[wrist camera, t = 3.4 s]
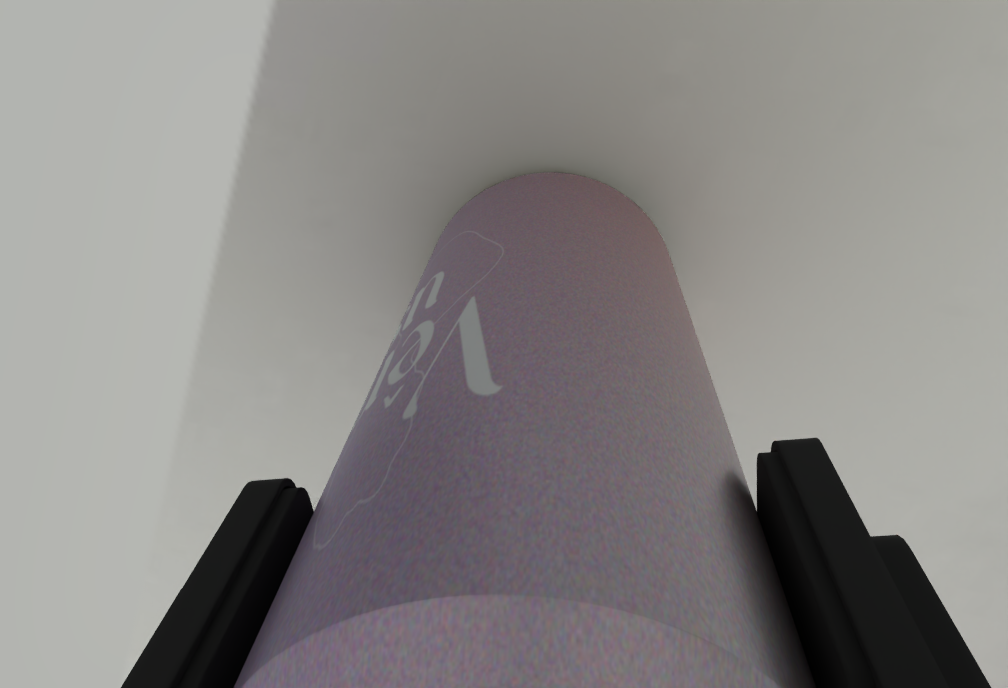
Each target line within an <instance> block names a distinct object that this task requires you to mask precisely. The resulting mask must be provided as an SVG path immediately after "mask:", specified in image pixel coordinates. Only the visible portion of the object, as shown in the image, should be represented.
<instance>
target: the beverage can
mask: <svg viewBox="0 0 1008 688" xmlns="http://www.w3.org/2000/svg"><path fill="white" fill-rule="evenodd" d="M234 688H816V685H815V682H814V679H813V676H812V673H811V670H810V667H809V664H808V661H807V659H806V656H805V653H804V650H803V647H802V644H801V641H800V638H799V635H798V632H797V629H796V626H795V623H794V620H793V617H792V614H791V611H790V609H789V606H788V603H787V600H786V597H785V594H784V591H783V588H782V585H781V582H780V579H779V576H778V573H777V570H776V567H775V564H774V561H773V558H772V556H771V553H770V550H769V547H768V544H767V541H766V538H765V535H764V532H763V529H762V526H761V523H760V520H759V517H758V514H757V511H756V508H755V506H754V503H753V500H752V497H751V494H750V491H749V488H748V485H747V482H746V479H745V476H744V473H743V470H742V467H741V464H740V461H739V458H738V456H737V453H736V450H735V447H734V444H733V441H732V438H731V435H730V432H729V429H728V426H727V423H726V420H725V417H724V414H723V411H722V408H721V406H720V403H719V400H718V397H717V394H716V391H715V388H714V385H713V382H712V379H711V376H710V373H709V370H708V367H707V364H706V361H705V358H704V356H703V353H702V350H701V347H700V344H699V341H698V338H697V335H696V332H695V329H694V326H693V323H692V320H691V317H690V314H689V311H688V308H687V305H686V303H685V300H684V297H683V294H682V291H681V288H680V285H679V282H678V279H677V276H676V273H675V270H674V267H673V264H672V261H671V258H670V256H669V253H668V250H667V247H666V245H665V243H664V241H663V238H662V236H661V235H660V233H659V231H658V230H657V228H656V227H655V225H654V224H653V222H652V221H651V220H650V218H649V217H648V216H647V215H646V214H645V213H644V212H643V211H642V210H641V209H640V207H639V206H637V205H636V204H635V203H634V202H633V201H632V200H630V199H629V198H628V197H626V196H625V195H623V194H622V193H620V192H619V191H617V190H615V189H614V188H612V187H610V186H608V185H606V184H603V183H601V182H599V181H596V180H593V179H590V178H587V177H583V176H579V175H574V174H567V173H556V172H550V173H534V174H528V175H522V176H518V177H514V178H511V179H508V180H505V181H503V182H500V183H498V184H496V185H494V186H492V187H490V188H488V189H486V190H484V191H483V192H481V193H479V194H478V195H477V196H475V197H474V198H473V199H471V200H470V201H469V202H468V203H466V204H465V205H464V206H463V207H462V208H461V209H460V210H459V211H458V212H457V213H456V214H455V216H454V217H453V218H452V219H451V220H450V222H449V223H448V225H447V226H446V228H445V229H444V231H443V233H442V234H441V236H440V238H439V240H438V242H437V244H436V247H435V249H434V251H433V253H432V255H431V257H430V260H429V262H428V264H427V266H426V268H425V271H424V273H423V275H422V277H421V279H420V282H419V284H418V286H417V288H416V290H415V292H414V295H413V297H412V299H411V301H410V303H409V306H408V308H407V310H406V312H405V314H404V316H403V319H402V321H401V323H400V325H399V327H398V330H397V332H396V334H395V336H394V338H393V341H392V343H391V345H390V347H389V349H388V351H387V354H386V356H385V358H384V360H383V362H382V365H381V367H380V369H379V371H378V373H377V375H376V378H375V380H374V382H373V384H372V386H371V389H370V391H369V393H368V395H367V397H366V400H365V402H364V404H363V406H362V408H361V410H360V413H359V415H358V417H357V419H356V421H355V424H354V426H353V428H352V430H351V432H350V434H349V437H348V439H347V441H346V443H345V445H344V448H343V450H342V452H341V454H340V456H339V459H338V461H337V463H336V465H335V467H334V469H333V472H332V474H331V476H330V478H329V480H328V483H327V485H326V487H325V489H324V491H323V493H322V496H321V498H320V500H319V502H318V504H317V507H316V509H315V511H314V513H313V515H312V518H311V520H310V522H309V524H308V526H307V528H306V531H305V533H304V535H303V537H302V539H301V542H300V544H299V546H298V548H297V550H296V552H295V555H294V557H293V559H292V561H291V563H290V566H289V568H288V570H287V572H286V574H285V577H284V579H283V581H282V583H281V585H280V587H279V590H278V592H277V594H276V596H275V598H274V601H273V603H272V605H271V607H270V609H269V611H268V614H267V616H266V618H265V620H264V622H263V625H262V627H261V629H260V631H259V633H258V636H257V638H256V640H255V642H254V644H253V646H252V649H251V651H250V653H249V655H248V657H247V660H246V662H245V664H244V666H243V668H242V670H241V673H240V675H239V677H238V679H237V681H236V684H235V686H234Z"/></svg>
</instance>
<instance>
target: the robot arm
mask: <svg viewBox="0 0 1008 688" xmlns="http://www.w3.org/2000/svg"><path fill="white" fill-rule="evenodd" d="M313 513H314V511H313V508H312V505H311V501H310V498H309V495H308V493H307V491H306V490H305V488H302V487H300V488H296V486H295V484H294V482H293V481H292V480H291V479H288V478H285V479H272V480H259V481H251V482H248V483H247V484H246V485H245V487H244V488H243V490H242V491H241V493H240V495H239V496H238V498H237V500H236V501H235V503H234V504H233V506H232V508H231V509H230V511H229V513H228V514H227V516H226V518H225V519H224V521H223V522H222V524H221V526H220V527H219V529H218V531H217V532H216V534H215V536H214V537H213V539H212V540H211V542H210V544H209V545H208V547H207V549H206V550H205V552H204V554H203V555H202V557H201V558H200V560H199V562H198V563H197V565H196V567H195V568H194V570H193V572H192V573H191V575H190V576H189V578H188V580H187V581H186V583H185V585H184V586H183V588H182V589H181V590H180V592H179V594H178V595H177V597H176V599H175V600H174V602H173V603H172V605H171V607H170V608H169V610H168V612H167V613H166V615H165V616H164V618H163V620H162V621H161V623H160V625H159V626H158V628H157V630H156V631H155V633H154V634H153V636H152V638H151V639H150V641H149V643H148V644H147V646H146V648H145V649H144V651H143V652H142V654H141V656H140V657H139V659H138V661H137V662H136V664H135V665H134V667H133V669H132V670H131V672H130V674H129V675H128V677H127V679H126V680H125V682H124V683H123V685H122V687H121V688H234V686H235V684H236V681H237V679H238V677H239V675H240V673H241V670H242V668H243V666H244V664H245V662H246V660H247V657H248V655H249V653H250V651H251V649H252V646H253V644H254V642H255V640H256V638H257V636H258V633H259V631H260V629H261V627H262V625H263V622H264V620H265V618H266V616H267V614H268V611H269V609H270V607H271V605H272V603H273V601H274V598H275V596H276V594H277V592H278V590H279V587H280V585H281V583H282V581H283V579H284V577H285V574H286V572H287V570H288V568H289V566H290V563H291V561H292V559H293V557H294V555H295V552H296V550H297V548H298V546H299V544H300V542H301V539H302V537H303V535H304V533H305V531H306V528H307V526H308V524H309V522H310V520H311V518H312V515H313ZM757 514H758V517H759V520H760V523H761V526H762V529H763V532H764V535H765V538H766V541H767V544H768V547H769V550H770V553H771V556H772V558H773V561H774V564H775V567H776V570H777V573H778V576H779V579H780V582H781V585H782V588H783V591H784V594H785V597H786V600H787V603H788V606H789V609H790V611H791V614H792V617H793V620H794V623H795V626H796V629H797V632H798V635H799V638H800V641H801V644H802V647H803V650H804V653H805V656H806V659H807V661H808V664H809V667H810V670H811V673H812V676H813V679H814V682H815V685H816V688H991V687H990V685H989V683H988V681H987V680H986V678H985V676H984V674H983V673H982V671H981V669H980V668H979V666H978V664H977V662H976V661H975V659H974V657H973V655H972V654H971V652H970V650H969V649H968V647H967V645H966V643H965V642H964V640H963V638H962V637H961V635H960V633H959V631H958V630H957V628H956V626H955V624H954V623H953V621H952V619H951V618H950V616H949V614H948V612H947V611H946V609H945V607H944V605H943V604H942V602H941V600H940V599H939V597H938V595H937V593H936V592H935V590H934V588H933V586H932V585H931V583H930V581H929V580H928V578H927V576H926V574H925V573H924V571H923V569H922V568H921V566H920V564H919V562H918V561H917V559H916V557H915V555H914V554H913V552H912V550H911V549H910V547H909V546H908V544H907V543H906V542H905V540H904V539H903V538H901V537H900V536H898V535H890V536H873V537H870V535H869V533H868V531H867V529H866V527H865V525H864V523H863V521H862V520H861V518H860V516H859V514H858V512H857V510H856V508H855V506H854V504H853V502H852V500H851V498H850V497H849V495H848V493H847V491H846V489H845V487H844V485H843V483H842V481H841V479H840V477H839V476H838V474H837V472H836V470H835V468H834V466H833V464H832V462H831V460H830V458H829V456H828V454H827V453H826V451H825V449H824V447H823V445H822V443H821V442H820V440H819V439H817V438H808V439H795V440H782V441H774V442H773V443H772V447H771V452H769V453H759V454H758V456H757Z"/></svg>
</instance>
